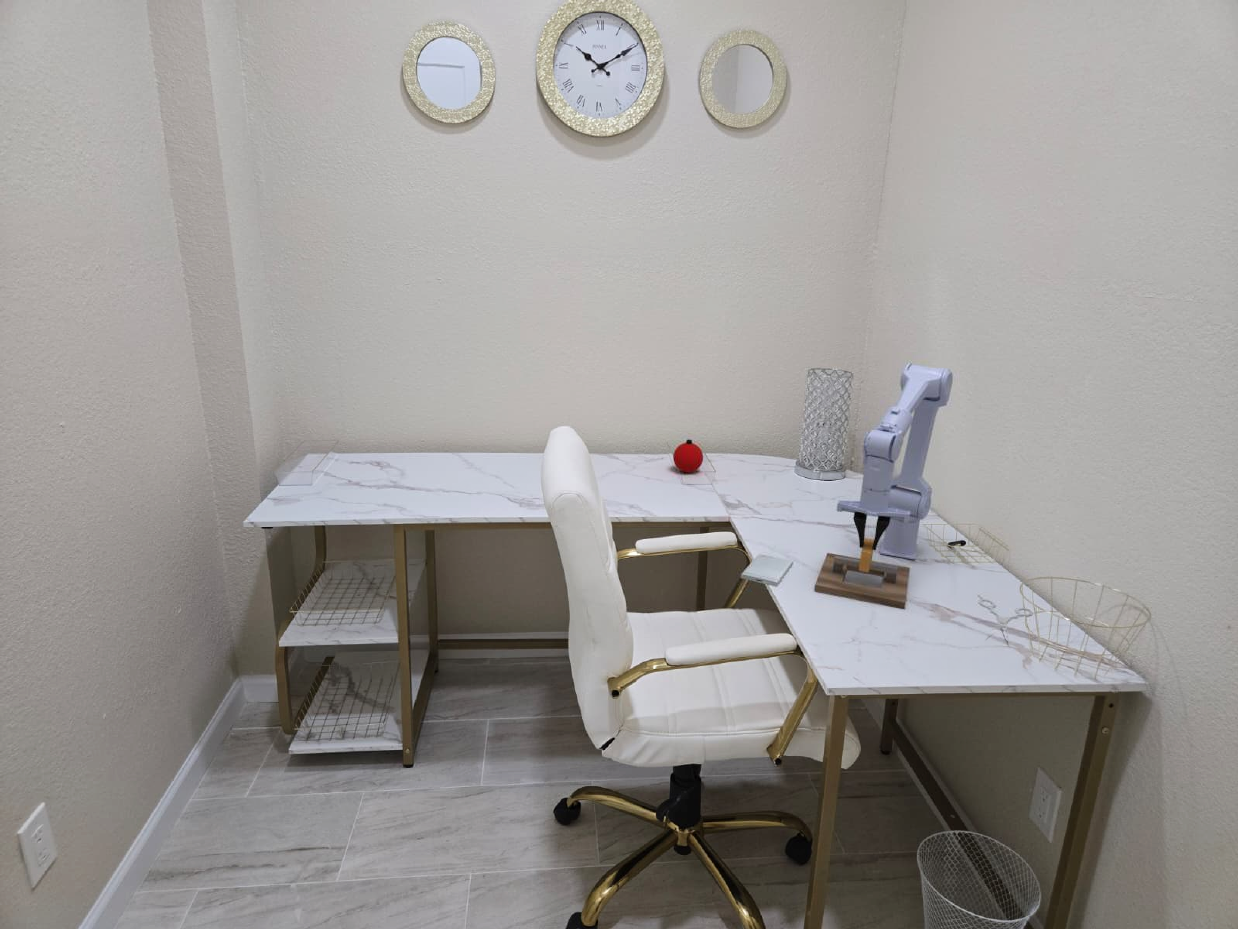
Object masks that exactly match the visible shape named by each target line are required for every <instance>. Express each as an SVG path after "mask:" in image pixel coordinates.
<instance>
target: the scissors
mask: <svg viewBox="0 0 1238 929" xmlns="http://www.w3.org/2000/svg"><path fill="white" fill-rule="evenodd" d="M977 597H978V598H979V600H978V604H979V605H980V606H982V607H983V608H985V609H987V610H990V613H991V614H993V615H995V616H996V619H997V620H998V621H997V623H1000V625H998V626H1005V627H1006V628H1003V629H1002V630H1007V624H1008V623H1009V622H1010V621H1011V620H1012V619H1013V620H1014V619H1018V618H1019V617H1024V616H1025V614H1026V613H1021V612H1020V611H1027V612H1029V613H1027V614H1026V616H1027V617H1032V616H1033V615H1034V612H1033V610H1031V609H1029V608H1028V607H1027V608H1026V607H1018V608H1016V609H1014V612H1015V615H1012V616H1005V617H1002V616H1001V615H1000V614H999V613H998V612H996V611H995V610H994V608H996V607H997V604H996V603H995V602H993V601H992V600H989V599H985V598H984V597H983V596H982V595H981V594H977ZM983 602H986V603H990V604H991V605H985V604H984V603H983ZM1027 617H1026V618H1027ZM991 630H994V629H993V628H992V629H991ZM1006 633H1007V634H1008V630H1007V632H1006ZM1006 637H1008V638H1009V636H1008V635H1007V636H1006Z"/></svg>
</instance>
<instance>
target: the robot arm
mask: <svg viewBox="0 0 1238 929" xmlns="http://www.w3.org/2000/svg"><path fill="white" fill-rule="evenodd" d="M953 376H954V375H953V373H952V371H951V369H950V368H946V369H945V368H939V367H931V366H925V365H917V364H913V363H907V365H905V366H904V368H903V369H902V372H901V376H900V379H899V380H900V382H899V384H900V385H899V386H900V387H901V388H900V389H901V392H900V395H899V397H898V399H897V402H896V404H895V406H890V407H889V408H888V409H887V410H886V411H885V413H884V415H882V417H881V419H880V420H879V422H878V424H877V426H876V427H875V429H872V430H869V431H868V432H866V434H865V437H864V439H863V444H862V449H861V450H862V456H863V457H862V464H863V465H864V469H863V476H862V483H861V490H860V491H861V492H860V500H859V501H857V500H841V499H838V501H837V505H836V512H841V513H842V512H846V513H852V514H853V518H852V519H853V523H854V525H855V527H856V531H857V535H858V542H859V548H860V549H862V548H863V545H864V541H865V538H866V536H865V534H866V525H867V520H868V516H869V517H875V518H876V517H877V520H876V525H875V535H874V543H873V547H872V550H873V551H877V546H878V543H879V541H880V539H881V537H882V535H883V534H884V536H883V538H882V540H881V545H880V549H879V554H881V555H886V556H891V557H898V558H902V559H908V560H913V561H914V560H916V559H917V553H918V552H917V551H918V543H917V542H918V533H919V528H920V522H921V520H922V521H923V519H925V518H927V516H928V515H929V514H928V513H929V511H930V508H931V504H932V492H933V491H932V490H933V488H932V487H931V485H930V484H929V482H927V481H926V480H925V479H924V478H923V474H924V469H925V464H926V460H927V456H928V451H929V447H930V443H931V439H932V434H933V431H934V425H935V421H936V416H937V414H938V411H939V409H940V408H941V407H945V406H947V405H948V401H949V399H950V396H951V391H952V387H953ZM912 414H913V416H912ZM909 429H910V430H909ZM908 430H909V434H908V437H907V443H906V447H905V452H904V457H903V460H902V465H901V471H900V473H898V474H897V475H894V470H895V464H896V461H897V460H898V458H899V457H900V454H901V451H902V447H903V444H904V438H905V435H906V434H907V432H908Z"/></svg>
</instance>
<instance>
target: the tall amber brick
mask: <svg viewBox="0 0 1238 929" xmlns="http://www.w3.org/2000/svg"><path fill="white" fill-rule="evenodd" d="M874 539H875V538H874ZM874 539H873V538H867V537H865V539H864V545H863V548H861V552H860V566H859V571H864V572H869V568H870V561H873V555H874V550H872V547H873V543H874Z"/></svg>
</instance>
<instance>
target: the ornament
mask: <svg viewBox="0 0 1238 929" xmlns="http://www.w3.org/2000/svg"><path fill="white" fill-rule="evenodd" d="M672 459H673V463H674V465H675V467H676V468H677V469H678V470H679V471H681V472H684V473H693V472H695V471H697V470H698V469H699V468H700V467H701V466H702V465H703V462H704V454H703V451H702V449H701V447H699V445H697V444H695V443H694V442H693V440H692V439H690V438H689V439H686V441H685V442H683V443H681V444H679V445H678V446H677V447H676V448H675V450H674V451H673V458H672Z"/></svg>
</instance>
